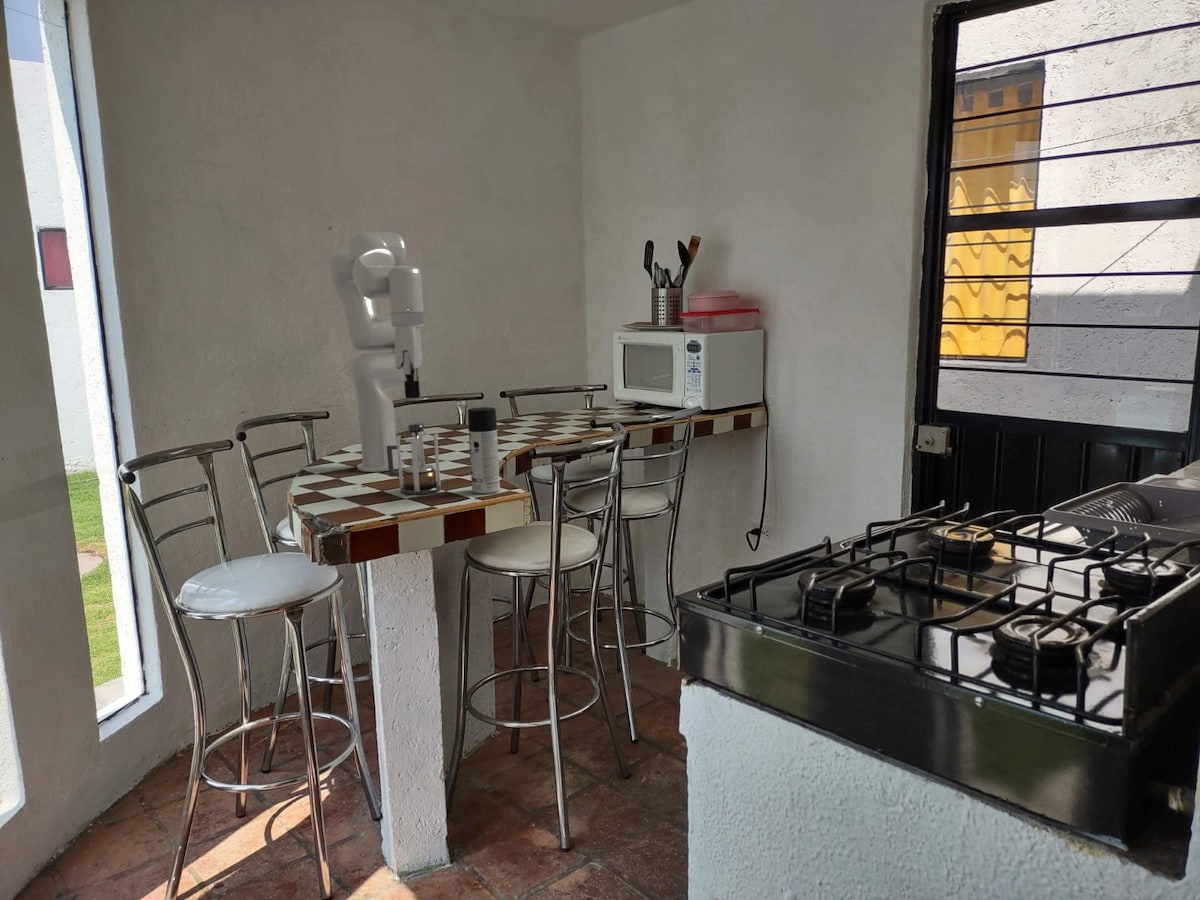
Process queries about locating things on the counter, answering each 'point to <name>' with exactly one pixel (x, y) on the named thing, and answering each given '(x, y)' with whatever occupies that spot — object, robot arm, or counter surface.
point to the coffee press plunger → (422, 468)
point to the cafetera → (415, 468)
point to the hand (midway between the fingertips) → (412, 397)
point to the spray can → (483, 450)
